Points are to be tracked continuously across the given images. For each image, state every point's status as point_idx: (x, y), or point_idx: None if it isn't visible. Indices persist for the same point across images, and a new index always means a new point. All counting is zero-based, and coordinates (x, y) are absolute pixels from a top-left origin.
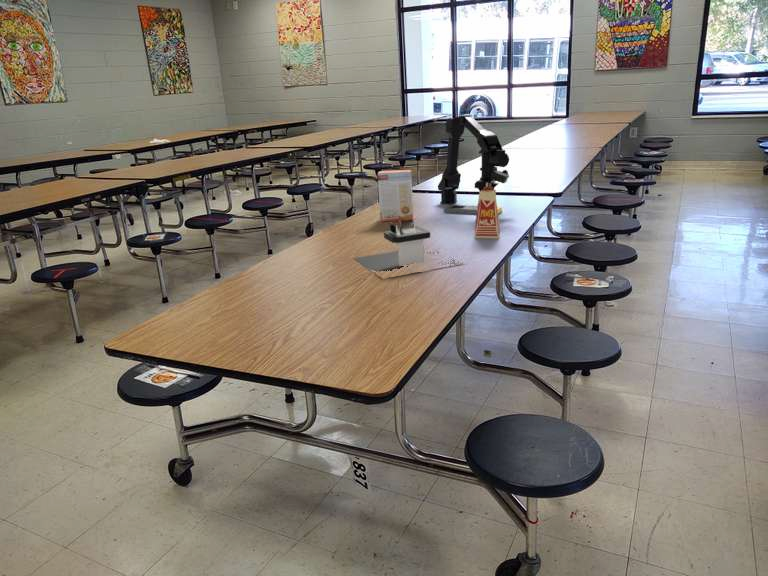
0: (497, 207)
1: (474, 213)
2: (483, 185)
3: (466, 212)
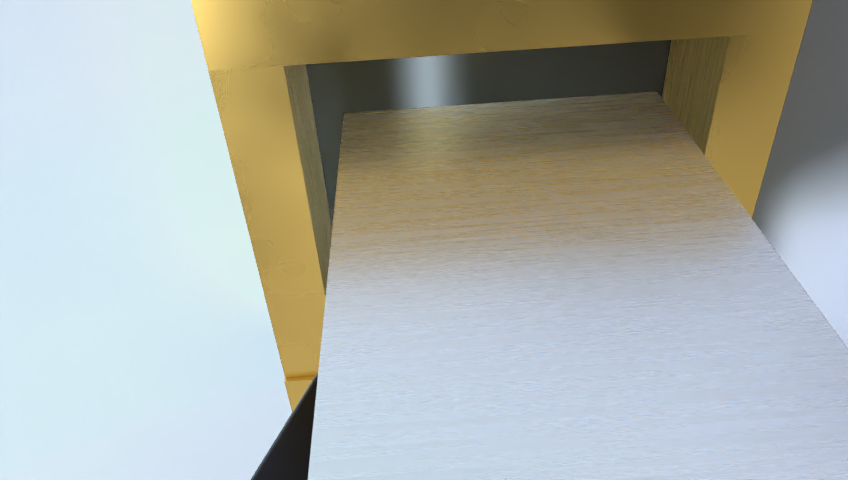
0: (306, 36)
1: None
2: None
3: None
